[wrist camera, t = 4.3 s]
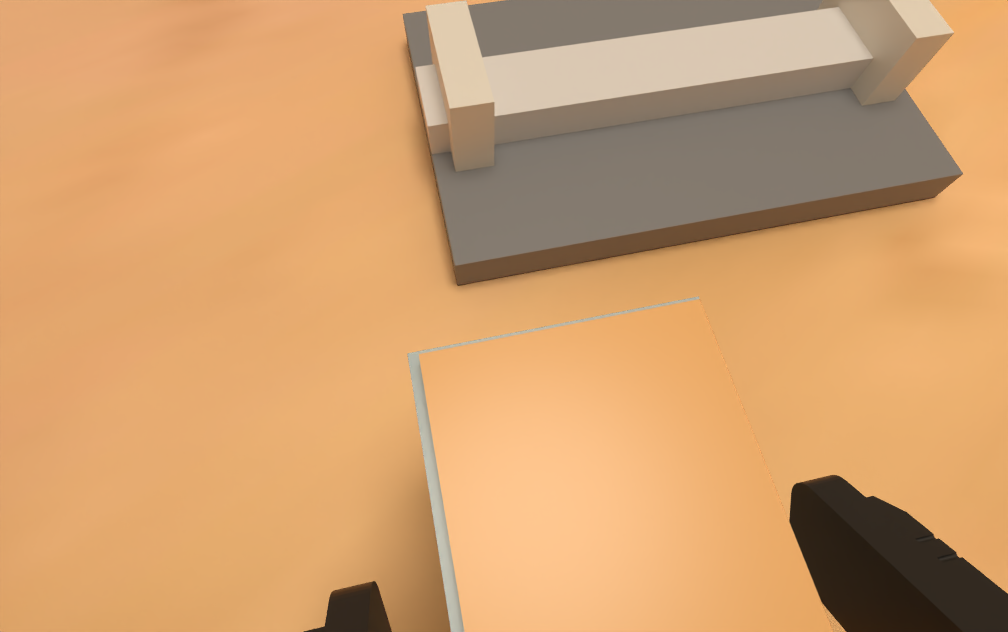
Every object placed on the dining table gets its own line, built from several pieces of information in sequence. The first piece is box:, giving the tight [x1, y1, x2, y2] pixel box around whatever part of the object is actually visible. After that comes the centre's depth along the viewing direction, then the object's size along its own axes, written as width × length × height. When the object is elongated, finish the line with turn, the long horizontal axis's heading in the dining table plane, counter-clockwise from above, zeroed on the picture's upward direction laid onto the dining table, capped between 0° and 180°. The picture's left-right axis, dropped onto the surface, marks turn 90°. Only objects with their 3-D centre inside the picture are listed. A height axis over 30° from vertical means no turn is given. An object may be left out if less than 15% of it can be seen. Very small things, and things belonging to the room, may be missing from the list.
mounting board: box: [403, 0, 963, 285], centre depth 22 cm, size 20×13×5 cm, turn 102°
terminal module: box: [408, 297, 833, 632], centre depth 12 cm, size 5×6×10 cm
